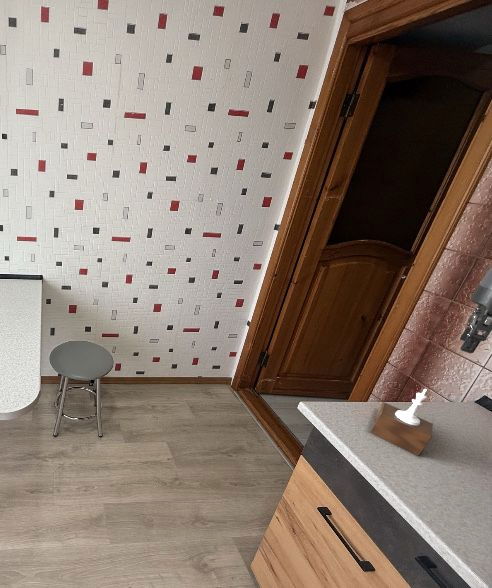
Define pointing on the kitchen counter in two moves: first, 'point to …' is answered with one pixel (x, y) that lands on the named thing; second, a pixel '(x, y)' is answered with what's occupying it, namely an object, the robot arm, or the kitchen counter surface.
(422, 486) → the kitchen counter surface
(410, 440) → the wood grain box
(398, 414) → the chess piece
